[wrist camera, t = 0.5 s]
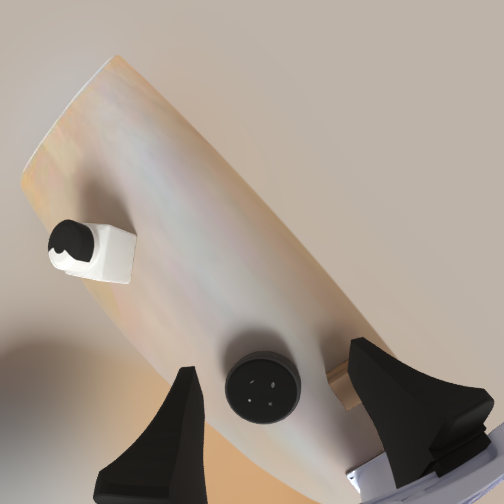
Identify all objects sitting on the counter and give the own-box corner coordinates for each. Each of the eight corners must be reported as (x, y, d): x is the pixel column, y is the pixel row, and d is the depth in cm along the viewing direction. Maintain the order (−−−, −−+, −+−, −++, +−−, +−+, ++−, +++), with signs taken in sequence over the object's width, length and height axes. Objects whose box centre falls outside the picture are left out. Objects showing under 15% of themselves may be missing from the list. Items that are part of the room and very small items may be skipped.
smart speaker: (217, 375, 37) (208, 383, 33) (272, 336, 36) (268, 340, 33) (259, 426, 35) (254, 438, 31) (315, 389, 34) (316, 399, 31)
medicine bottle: (101, 232, 43) (48, 213, 31) (138, 235, 42) (86, 214, 30) (94, 277, 42) (38, 269, 30) (130, 284, 41) (75, 278, 29)
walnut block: (369, 380, 33) (377, 391, 28) (342, 397, 34) (346, 411, 29) (353, 355, 34) (360, 364, 29) (326, 373, 34) (328, 384, 30)
